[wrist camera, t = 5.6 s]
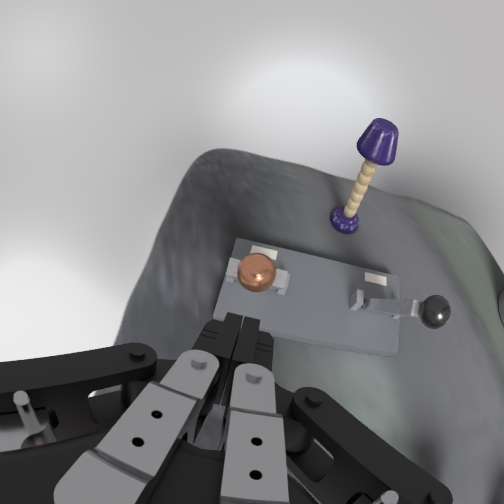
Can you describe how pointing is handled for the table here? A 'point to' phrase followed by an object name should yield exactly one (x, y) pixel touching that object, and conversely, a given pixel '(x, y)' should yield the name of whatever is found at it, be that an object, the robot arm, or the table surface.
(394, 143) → the toy lamp
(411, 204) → the table surface
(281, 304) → the switch panel
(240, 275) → the copper knob lever
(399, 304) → the black knob lever
